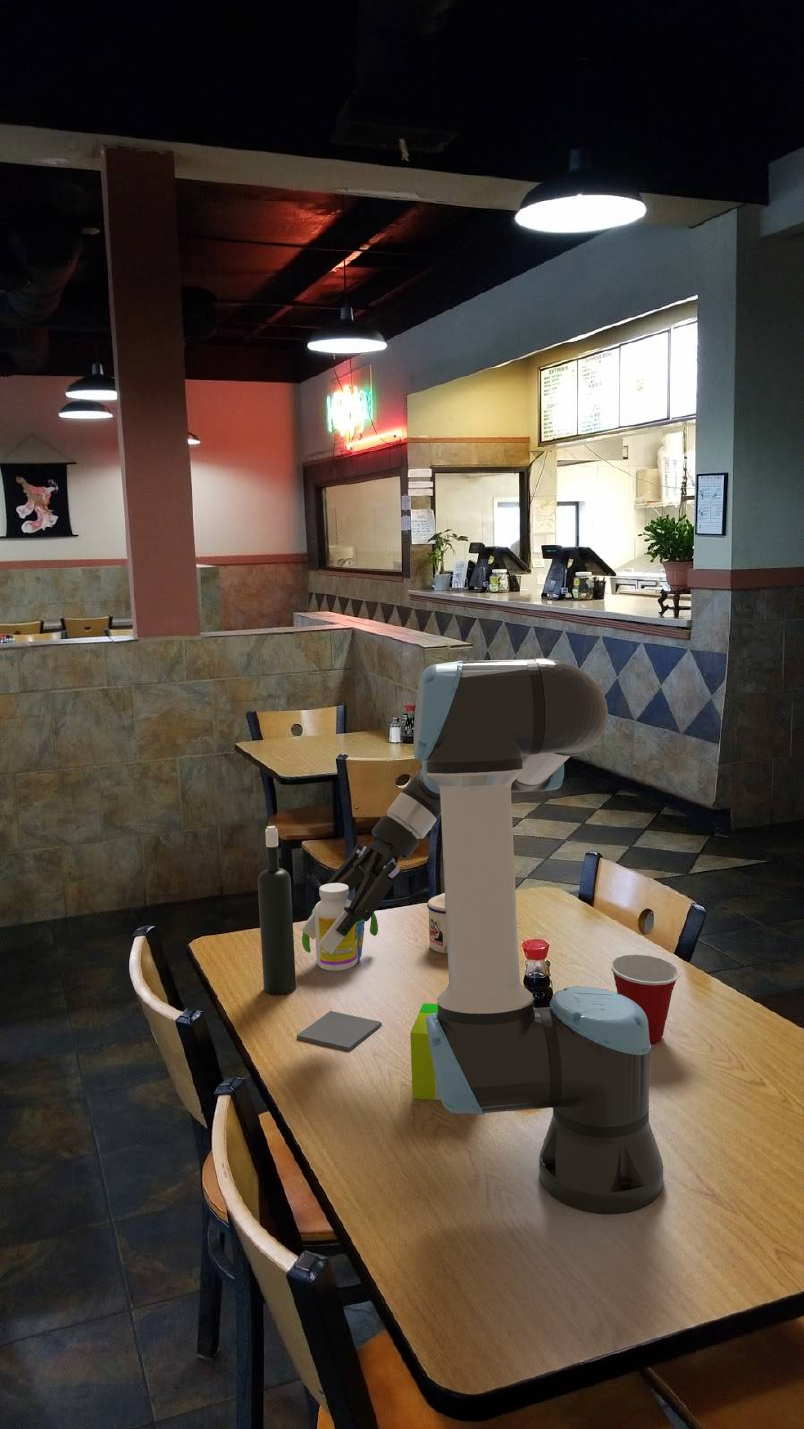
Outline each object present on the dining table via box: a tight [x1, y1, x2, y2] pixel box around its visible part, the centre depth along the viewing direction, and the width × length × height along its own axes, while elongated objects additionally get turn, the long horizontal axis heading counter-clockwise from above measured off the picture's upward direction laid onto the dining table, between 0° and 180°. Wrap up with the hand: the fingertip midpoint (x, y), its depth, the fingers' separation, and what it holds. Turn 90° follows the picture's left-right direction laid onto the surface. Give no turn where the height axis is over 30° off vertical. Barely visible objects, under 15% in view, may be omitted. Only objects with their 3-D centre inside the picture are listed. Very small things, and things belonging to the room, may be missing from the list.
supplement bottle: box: [313, 883, 358, 971], centre depth 173 cm, size 7×7×13 cm
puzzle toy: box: [409, 1002, 441, 1101], centre depth 157 cm, size 10×10×10 cm
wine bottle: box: [257, 825, 297, 996], centre depth 191 cm, size 6×6×30 cm
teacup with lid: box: [426, 892, 448, 955], centre depth 209 cm, size 12×9×12 cm
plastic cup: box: [609, 953, 682, 1046], centre depth 169 cm, size 11×11×12 cm
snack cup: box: [301, 908, 379, 963], centre depth 205 cm, size 16×10×10 cm
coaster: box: [296, 1010, 383, 1052], centre depth 176 cm, size 10×10×1 cm
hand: (315, 941), depth 172 cm, fingers closed on supplement bottle, 7 cm apart
